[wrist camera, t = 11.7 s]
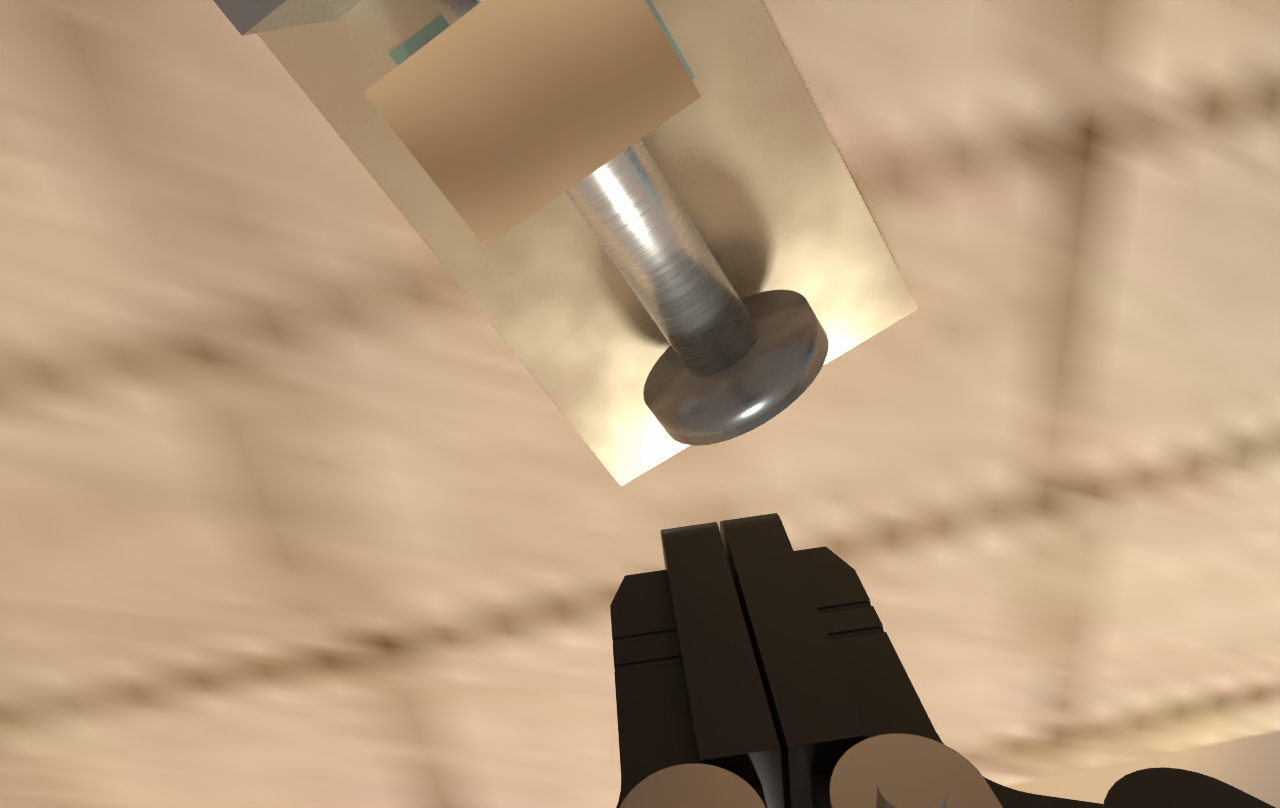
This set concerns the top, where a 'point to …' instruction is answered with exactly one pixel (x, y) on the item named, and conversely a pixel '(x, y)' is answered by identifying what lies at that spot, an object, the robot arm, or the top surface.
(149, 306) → the top surface
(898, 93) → the top surface
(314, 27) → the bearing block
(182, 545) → the top surface
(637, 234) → the shaft
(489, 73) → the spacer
